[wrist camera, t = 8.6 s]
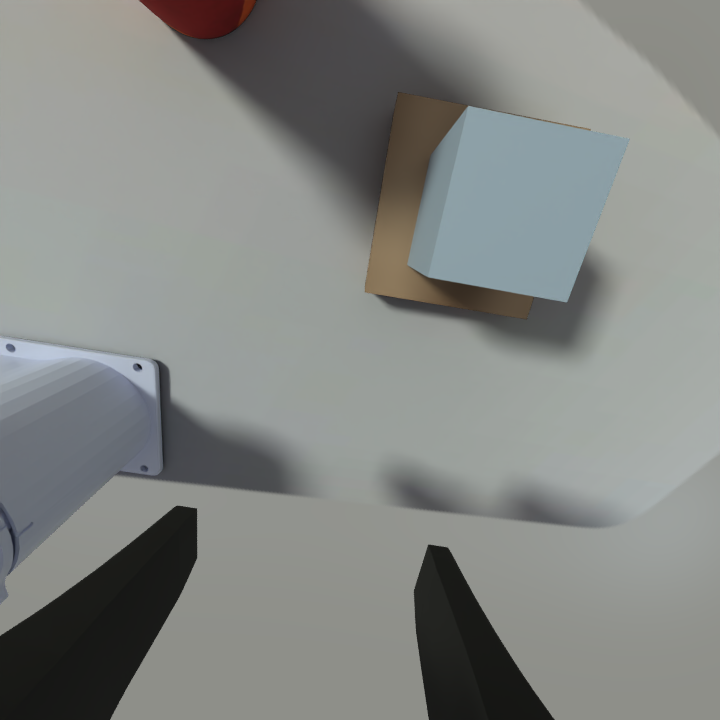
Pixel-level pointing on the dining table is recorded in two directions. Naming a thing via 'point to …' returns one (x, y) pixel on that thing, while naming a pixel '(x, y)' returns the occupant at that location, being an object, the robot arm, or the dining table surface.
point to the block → (513, 203)
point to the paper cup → (201, 15)
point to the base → (400, 210)
